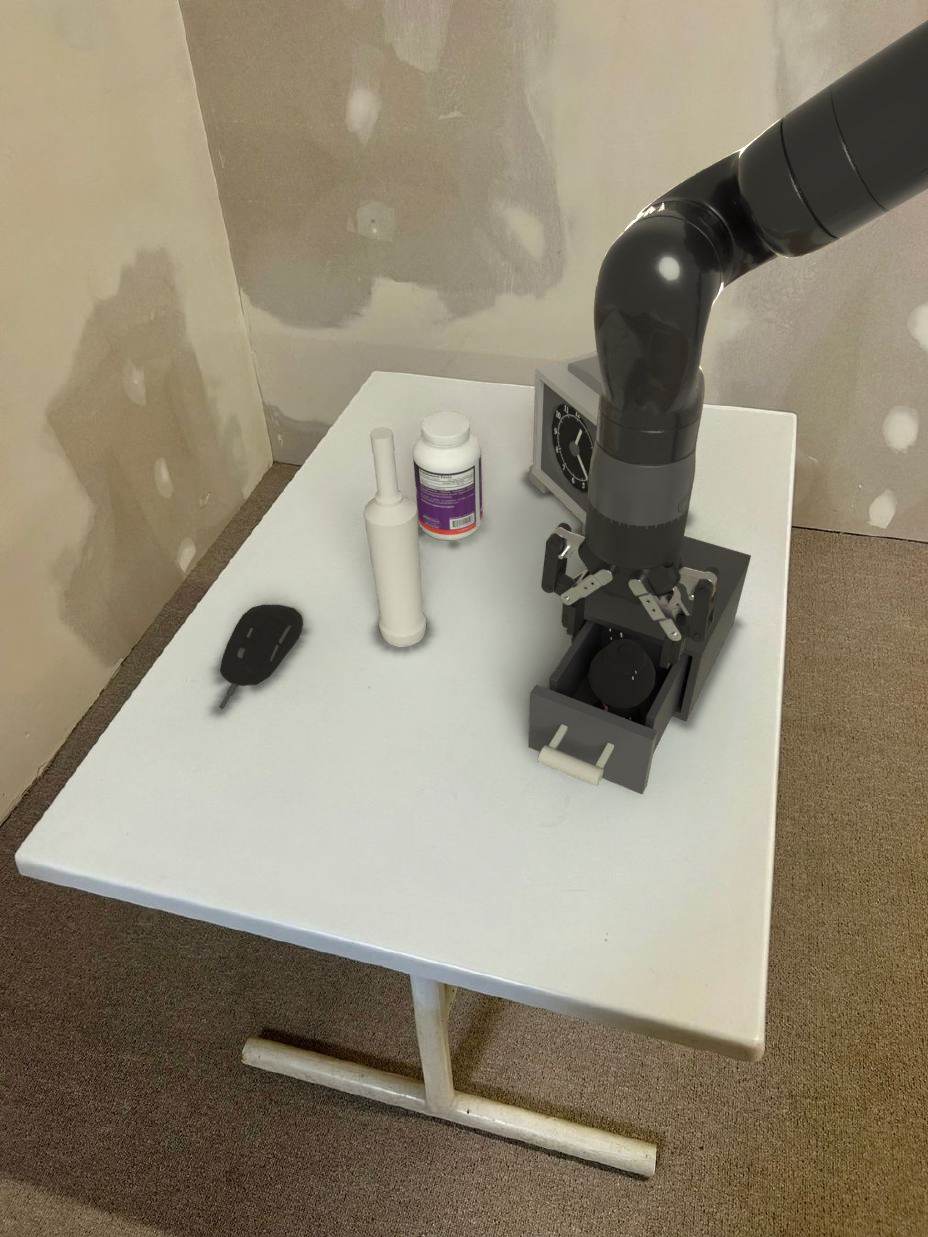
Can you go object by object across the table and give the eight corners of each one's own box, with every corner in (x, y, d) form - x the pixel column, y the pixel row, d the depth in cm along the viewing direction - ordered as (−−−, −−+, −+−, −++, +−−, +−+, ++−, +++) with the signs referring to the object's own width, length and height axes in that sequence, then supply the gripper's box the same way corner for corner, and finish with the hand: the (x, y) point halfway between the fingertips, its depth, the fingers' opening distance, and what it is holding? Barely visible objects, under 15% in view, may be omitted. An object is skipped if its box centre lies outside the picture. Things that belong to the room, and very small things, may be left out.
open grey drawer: (624, 832, 75) (633, 779, 69) (506, 781, 79) (507, 727, 73) (694, 687, 86) (707, 632, 81) (589, 649, 91) (594, 594, 85)
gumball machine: (572, 702, 84) (579, 628, 77) (630, 689, 85) (641, 616, 78) (596, 755, 79) (605, 682, 72) (657, 742, 80) (672, 668, 73)
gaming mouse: (194, 702, 88) (184, 675, 85) (263, 607, 98) (256, 580, 95) (248, 716, 87) (240, 689, 84) (313, 618, 97) (308, 591, 94)
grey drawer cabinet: (686, 721, 84) (702, 653, 78) (568, 677, 89) (573, 609, 82) (733, 623, 94) (751, 555, 87) (624, 587, 99) (633, 520, 92)
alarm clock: (525, 476, 115) (528, 347, 103) (608, 449, 119) (620, 322, 107) (602, 552, 103) (616, 417, 91) (691, 519, 107) (716, 386, 95)
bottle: (389, 612, 97) (364, 415, 80) (433, 619, 96) (417, 421, 79) (373, 644, 93) (344, 445, 76) (419, 652, 92) (399, 452, 75)
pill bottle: (438, 498, 112) (432, 399, 102) (493, 515, 109) (493, 414, 99) (406, 533, 107) (396, 432, 97) (463, 551, 104) (459, 449, 94)
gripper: (749, 489, 64) (713, 644, 75) (571, 444, 69) (562, 595, 80) (718, 547, 59) (684, 703, 70) (530, 493, 64) (527, 646, 76)
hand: (619, 645), depth 75 cm, fingers open, 8 cm apart
